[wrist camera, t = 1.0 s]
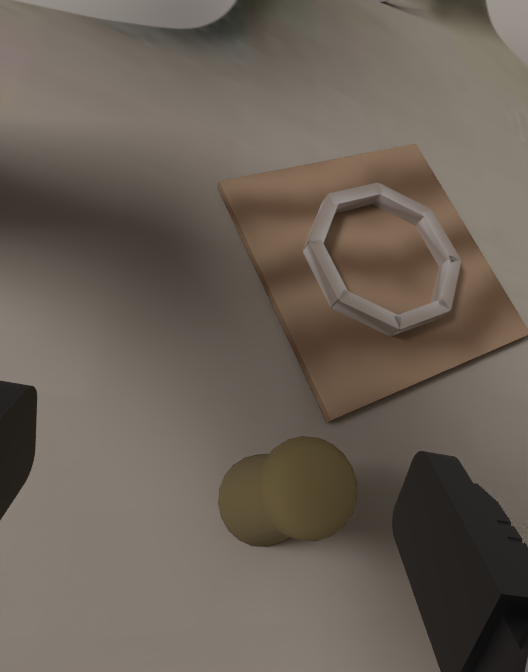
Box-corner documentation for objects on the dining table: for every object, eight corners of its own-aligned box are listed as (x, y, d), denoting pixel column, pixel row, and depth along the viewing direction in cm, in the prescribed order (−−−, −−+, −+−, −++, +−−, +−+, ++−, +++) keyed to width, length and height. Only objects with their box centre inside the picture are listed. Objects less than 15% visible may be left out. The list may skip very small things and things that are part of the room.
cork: (221, 552, 32) (266, 558, 22) (215, 457, 34) (254, 425, 24) (308, 541, 34) (385, 543, 24) (297, 452, 36) (364, 420, 26)
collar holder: (217, 187, 43) (222, 169, 41) (411, 149, 51) (423, 132, 49) (327, 422, 37) (339, 415, 35) (523, 336, 46) (542, 327, 44)
